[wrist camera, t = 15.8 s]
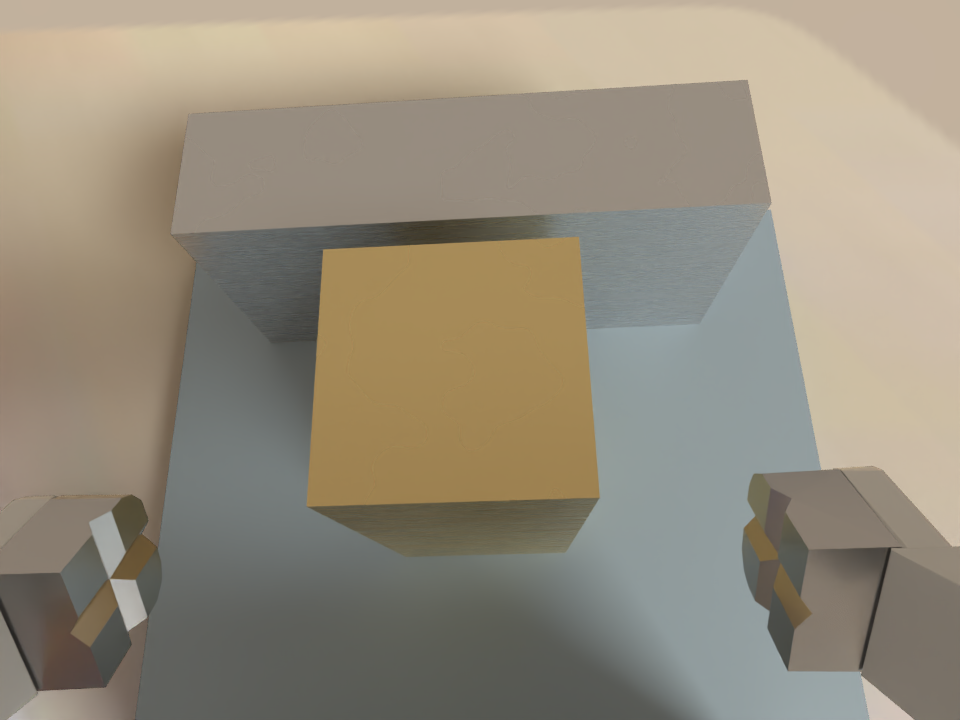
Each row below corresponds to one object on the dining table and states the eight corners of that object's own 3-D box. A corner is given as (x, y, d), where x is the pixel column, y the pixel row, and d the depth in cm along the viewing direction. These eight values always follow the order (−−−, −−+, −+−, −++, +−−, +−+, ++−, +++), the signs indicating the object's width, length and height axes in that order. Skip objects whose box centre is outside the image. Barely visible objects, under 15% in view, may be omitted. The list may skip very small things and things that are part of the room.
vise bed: (118, 1013, 15) (-181, 1303, 9) (213, 255, 22) (81, 102, 16) (906, 1017, 15) (1216, 1342, 8) (759, 228, 21) (864, 53, 15)
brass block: (405, 556, 18) (306, 506, 10) (408, 404, 19) (323, 249, 11) (565, 552, 17) (599, 497, 9) (556, 398, 19) (579, 236, 11)
